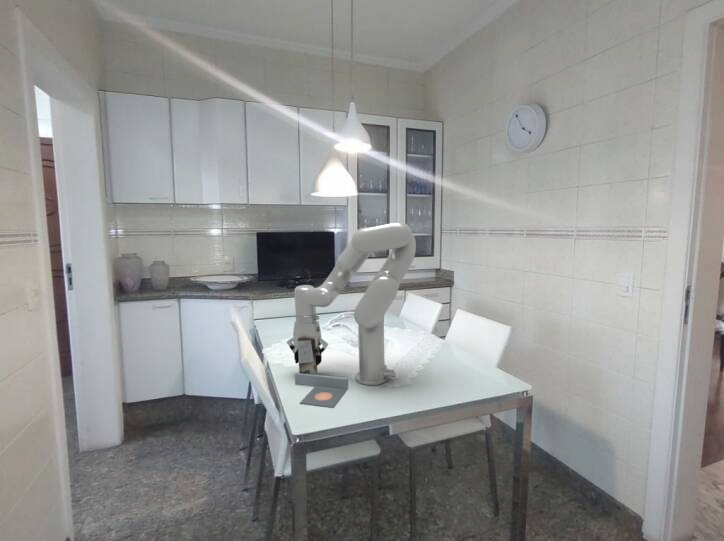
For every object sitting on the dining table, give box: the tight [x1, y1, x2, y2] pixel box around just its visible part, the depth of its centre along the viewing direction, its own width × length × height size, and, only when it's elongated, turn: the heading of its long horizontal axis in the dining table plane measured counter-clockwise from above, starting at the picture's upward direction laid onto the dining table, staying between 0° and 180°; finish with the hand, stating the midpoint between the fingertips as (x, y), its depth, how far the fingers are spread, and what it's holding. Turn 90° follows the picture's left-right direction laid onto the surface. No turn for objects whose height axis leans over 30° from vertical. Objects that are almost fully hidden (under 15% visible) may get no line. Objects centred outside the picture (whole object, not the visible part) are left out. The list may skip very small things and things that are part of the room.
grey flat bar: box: [294, 372, 349, 391], centre depth 139 cm, size 20×1×4 cm, turn 73°
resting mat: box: [299, 387, 347, 409], centre depth 131 cm, size 12×12×1 cm
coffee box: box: [297, 338, 318, 375], centre depth 147 cm, size 9×6×16 cm
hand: (308, 362), depth 147 cm, fingers closed on coffee box, 8 cm apart
